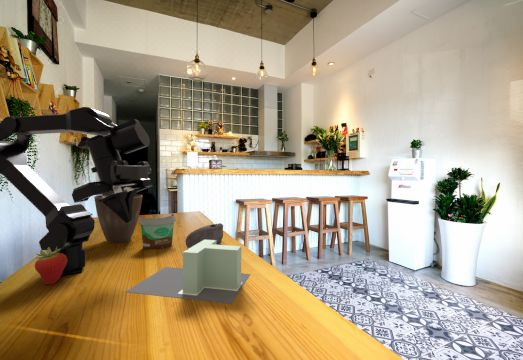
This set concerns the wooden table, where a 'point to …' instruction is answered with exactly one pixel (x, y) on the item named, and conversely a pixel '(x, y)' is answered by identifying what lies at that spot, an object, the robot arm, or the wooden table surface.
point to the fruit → (50, 265)
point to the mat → (172, 286)
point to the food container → (157, 231)
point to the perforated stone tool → (205, 234)
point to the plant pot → (117, 221)
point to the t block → (211, 267)
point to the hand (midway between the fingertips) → (129, 222)
